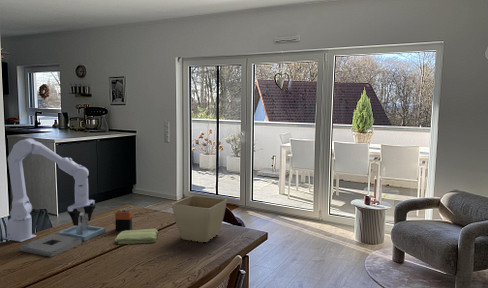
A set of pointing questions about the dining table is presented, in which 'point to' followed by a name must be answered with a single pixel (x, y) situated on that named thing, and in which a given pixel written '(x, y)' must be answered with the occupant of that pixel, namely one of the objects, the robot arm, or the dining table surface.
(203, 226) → the flower pot
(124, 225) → the battery
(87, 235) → the tray
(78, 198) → the robot arm
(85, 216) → the pin
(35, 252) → the pin plate
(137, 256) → the dining table surface
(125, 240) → the washcloth
